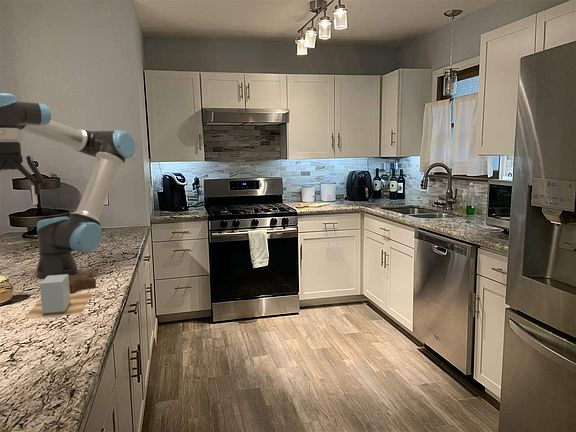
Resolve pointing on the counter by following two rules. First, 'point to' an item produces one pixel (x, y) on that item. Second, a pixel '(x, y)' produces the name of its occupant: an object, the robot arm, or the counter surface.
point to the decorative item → (81, 282)
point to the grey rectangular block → (55, 294)
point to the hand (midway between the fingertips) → (13, 205)
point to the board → (75, 308)
